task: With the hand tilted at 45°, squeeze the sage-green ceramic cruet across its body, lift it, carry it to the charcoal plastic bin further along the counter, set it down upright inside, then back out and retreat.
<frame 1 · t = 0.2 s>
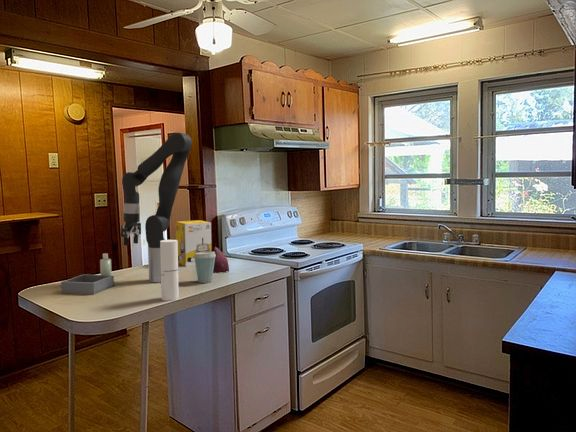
hand: (131, 244, 226), 18 cm above the counter, tool pointing down, fingers open, 8 cm apart
cruet: (106, 281, 224), on the counter
disposable coffee cup: (205, 282, 224), on the counter
vegetable: (220, 271, 249), on the counter
packaging box: (193, 263, 272), on the counter
bin: (88, 289, 208), on the counter
cylindrical container: (170, 298, 193), on the counter
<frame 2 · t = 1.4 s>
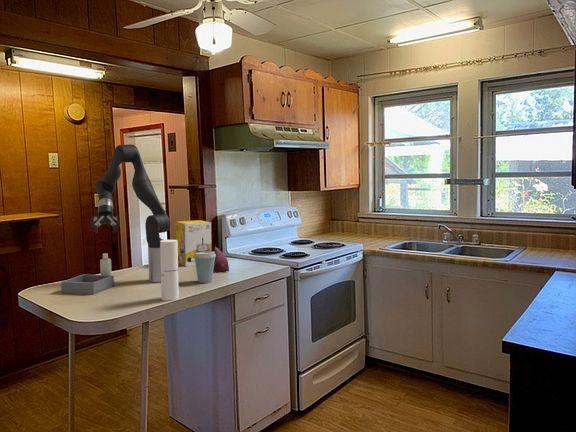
hand: (105, 232, 233), 23 cm above the counter, tool tilted 45°, fingers open, 8 cm apart
nothing on the counter moved.
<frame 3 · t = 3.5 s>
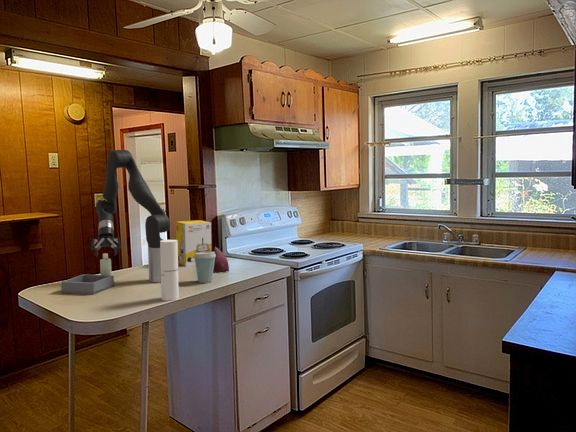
hand: (106, 255, 229), 12 cm above the counter, tool tilted 45°, fingers open, 8 cm apart
nothing on the counter moved.
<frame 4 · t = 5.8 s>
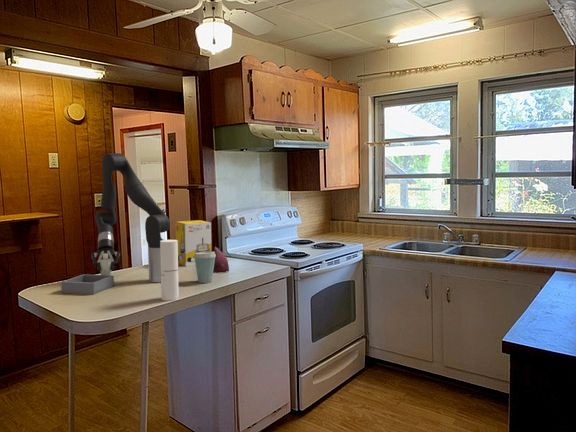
hand: (105, 269, 222), 6 cm above the counter, tool tilted 45°, fingers closed on cruet, 5 cm apart
cruet: (106, 281, 224), on the counter, touching gripper
everything else where it was.
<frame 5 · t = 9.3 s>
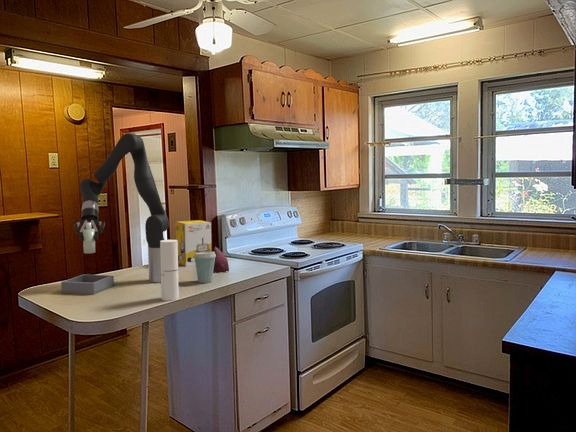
hand: (88, 239, 207), 23 cm above the counter, tool tilted 45°, fingers closed on cruet, 5 cm apart
cruet: (89, 252, 210), point 17 cm above the counter, touching gripper
everything else where it was.
when the fingers open (9 cm above the counter, at t = 12.8 s): cruet drops 1 cm, resting on bin.
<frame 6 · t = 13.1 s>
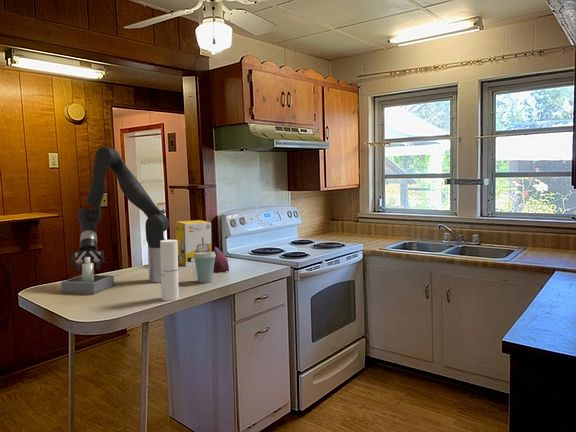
hand: (87, 270, 206), 9 cm above the counter, tool tilted 45°, fingers open, 8 cm apart
cruet: (88, 287, 208), point 1 cm above the counter, touching bin
everything else where it was.
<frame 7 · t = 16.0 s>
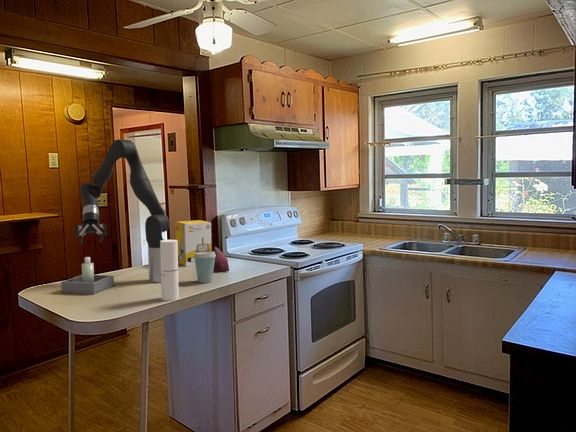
hand: (91, 242, 220), 20 cm above the counter, tool tilted 40°, fingers open, 8 cm apart
nothing on the counter moved.
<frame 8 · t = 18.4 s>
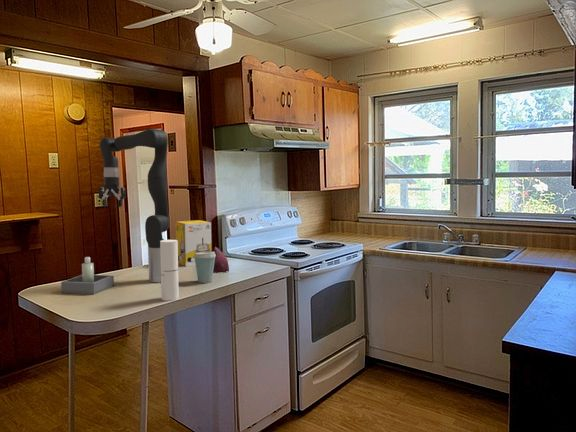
hand: (112, 206, 238), 36 cm above the counter, tool pointing down, fingers open, 8 cm apart
nothing on the counter moved.
at the end: cruet inside the target area on the bin (0.1 cm from its centre), point 1.0 cm above the bin's base; cruet tilted 0°; the gripper is holding nothing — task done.
